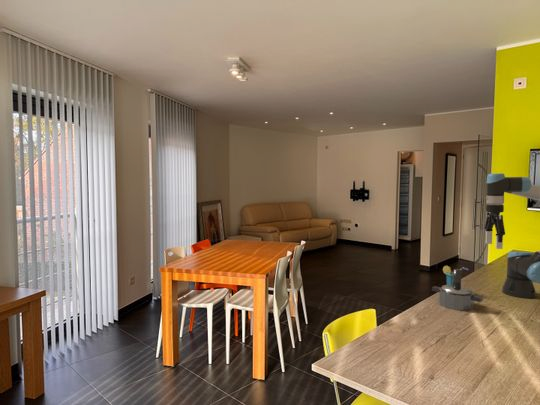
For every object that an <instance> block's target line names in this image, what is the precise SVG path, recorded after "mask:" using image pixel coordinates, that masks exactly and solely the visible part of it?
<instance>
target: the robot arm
mask: <svg viewBox="0 0 540 405" xmlns="http://www.w3.org/2000/svg"><path fill="white" fill-rule="evenodd" d="M485 183H486V197H485V200H486V202H485V203H486V205H485V206H486V207H485V211H486V219H485V224H484V230H485V244H486V245H487V244H488V245H492V244H493V231H494V230H493V227H494V228H495V231H496V233H495V236H496V237H495V249H496V250H503V248H504V247H503V245H504V244H503V243H504V236H506V230H505V223H504V215H503V214H500V213H504V212H505V211H504V210H505V206H504V203H505V193H506V194H511V195H516V196H519V197H523V198H527V199H529V200H530V199H531V200H535V201H539V202H540V185H537V184H532V181H531V179H530V178H529V177H528V176H527V177H526V176H505V173H497V172H496V173H488V174H487V177H486V182H485ZM506 258H507V264H506V279H505V281H504V283H503V285H502V289H501V292H502V293H504V294H505V295H508V296H511V297H516V298H522V299H533V298H536V296H537V292H536V288H535V285H534V283H535V284H540V250H536V251H535V252H529V251H509V252H508V253H507V257H506Z"/></svg>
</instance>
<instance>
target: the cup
mask: <svg viewBox="0 0 540 405" xmlns="http://www.w3.org/2000/svg"><path fill="white" fill-rule="evenodd" d="M460 270H466V271H470V269H469V268H467V267H464V266H463V267H461V268H460ZM442 272H443V274H445V275H446V285H453V271H452V268H451V266H448V265H444V266H443V268H442Z"/></svg>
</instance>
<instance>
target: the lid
mask: <svg viewBox="0 0 540 405" xmlns="http://www.w3.org/2000/svg"><path fill="white" fill-rule="evenodd" d="M460 269H461V268H460ZM460 269H459V268H453V270H452V272H453V285H447V284H445V285H441V287H442V290H443V291H445V292H447V293H450V294H455V295H470V294H472V289H471V288H469V287H466V286H463V285H462V273H463V272H462V270H463V269H462V270H460Z"/></svg>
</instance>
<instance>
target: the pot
mask: <svg viewBox="0 0 540 405" xmlns="http://www.w3.org/2000/svg"><path fill="white" fill-rule="evenodd" d="M431 291H432V292H436V293H438V304H439V305H440V306H441V307H444V308H446V309H451V310H455V311H472V310H473V309H474V308H475V302H477V303H482V302H483V298H484V297H483V296H481V295H479V296H478V295H475V292H474V291H472V294H470V295H455V294H450V293H447V292H445V291H443V290H442V286H441V287H440V286H436V285H435V286H432V287H431Z"/></svg>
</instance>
